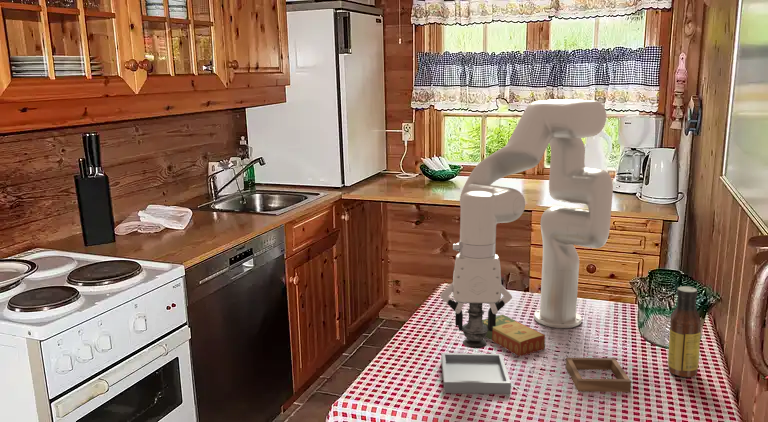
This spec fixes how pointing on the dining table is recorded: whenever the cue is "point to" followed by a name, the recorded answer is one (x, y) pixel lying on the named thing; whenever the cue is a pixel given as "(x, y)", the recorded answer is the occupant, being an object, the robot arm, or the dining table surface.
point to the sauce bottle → (684, 335)
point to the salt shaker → (475, 327)
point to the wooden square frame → (598, 384)
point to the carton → (515, 336)
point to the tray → (475, 373)
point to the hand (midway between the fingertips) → (475, 327)
